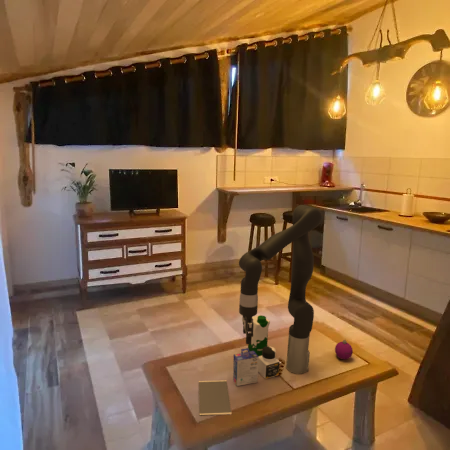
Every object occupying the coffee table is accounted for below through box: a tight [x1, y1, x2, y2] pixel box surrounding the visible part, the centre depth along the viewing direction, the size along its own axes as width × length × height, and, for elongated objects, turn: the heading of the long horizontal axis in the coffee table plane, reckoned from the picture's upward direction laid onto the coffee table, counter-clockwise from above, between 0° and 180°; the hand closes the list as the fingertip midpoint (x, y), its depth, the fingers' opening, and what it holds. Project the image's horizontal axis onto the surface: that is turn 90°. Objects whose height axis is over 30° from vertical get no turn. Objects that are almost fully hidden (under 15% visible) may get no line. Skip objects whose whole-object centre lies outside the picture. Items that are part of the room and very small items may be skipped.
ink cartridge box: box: [232, 347, 259, 387], centre depth 158 cm, size 10×6×14 cm, turn 109°
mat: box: [198, 379, 232, 417], centre depth 148 cm, size 12×20×1 cm, turn 5°
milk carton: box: [246, 314, 271, 357], centre depth 179 cm, size 9×9×20 cm
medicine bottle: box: [258, 345, 280, 380], centre depth 164 cm, size 7×7×12 cm
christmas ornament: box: [334, 339, 354, 360], centre depth 178 cm, size 8×8×10 cm
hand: (246, 338), depth 155 cm, fingers open, 8 cm apart
